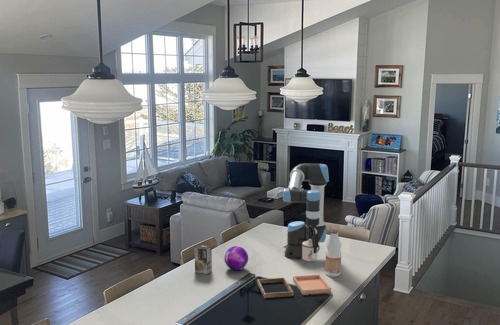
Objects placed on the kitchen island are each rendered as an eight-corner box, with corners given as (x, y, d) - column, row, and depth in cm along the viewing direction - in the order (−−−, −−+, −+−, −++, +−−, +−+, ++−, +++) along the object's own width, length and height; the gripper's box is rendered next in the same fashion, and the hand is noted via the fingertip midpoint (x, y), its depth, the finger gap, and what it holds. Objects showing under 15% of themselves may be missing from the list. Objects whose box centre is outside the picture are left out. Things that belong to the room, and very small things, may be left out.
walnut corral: (257, 283, 298) (257, 279, 297) (284, 281, 301) (284, 277, 300) (264, 298, 278) (264, 293, 277) (293, 295, 281) (293, 291, 280)
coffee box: (212, 270, 316) (212, 246, 313) (207, 274, 310) (206, 249, 308) (199, 268, 320) (199, 244, 317) (194, 272, 314) (194, 247, 311)
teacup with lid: (309, 262, 284) (309, 242, 282) (298, 257, 291) (299, 238, 289) (324, 258, 291) (325, 238, 289) (313, 253, 298) (314, 234, 296)
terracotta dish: (292, 280, 301) (292, 276, 301) (319, 278, 304) (319, 274, 304) (302, 295, 282) (302, 290, 281) (330, 292, 285) (330, 288, 284)
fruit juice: (330, 278, 306) (332, 234, 301) (322, 272, 314) (323, 229, 309) (343, 275, 310) (345, 232, 305) (334, 270, 318) (336, 227, 313)
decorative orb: (253, 269, 319) (253, 246, 317) (236, 275, 308) (236, 252, 306) (236, 263, 329) (236, 241, 327) (219, 269, 319) (219, 246, 316)
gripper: (301, 212, 296) (300, 249, 300) (312, 223, 275) (311, 262, 279) (313, 212, 297) (312, 248, 301) (325, 222, 276) (324, 261, 280)
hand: (311, 255), depth 290 cm, fingers closed on teacup with lid, 9 cm apart
